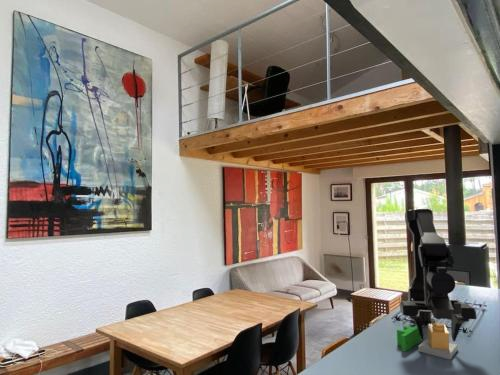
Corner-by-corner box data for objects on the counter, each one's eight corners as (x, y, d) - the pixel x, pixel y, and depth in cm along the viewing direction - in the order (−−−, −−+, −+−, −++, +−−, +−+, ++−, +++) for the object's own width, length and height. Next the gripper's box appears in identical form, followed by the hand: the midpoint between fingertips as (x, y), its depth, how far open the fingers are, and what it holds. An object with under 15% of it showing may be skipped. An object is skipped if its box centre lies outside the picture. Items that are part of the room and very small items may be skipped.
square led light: (427, 338, 101) (427, 320, 100) (444, 339, 100) (444, 321, 99) (431, 347, 96) (431, 328, 96) (449, 349, 95) (449, 329, 94)
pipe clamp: (409, 337, 108) (408, 323, 108) (421, 341, 105) (420, 326, 106) (392, 348, 101) (392, 332, 101) (405, 352, 98) (404, 335, 98)
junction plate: (428, 341, 104) (427, 325, 104) (458, 349, 99) (457, 331, 99) (418, 351, 98) (417, 333, 98) (450, 359, 92) (449, 340, 93)
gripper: (405, 291, 93) (408, 349, 93) (483, 293, 89) (486, 354, 88) (398, 281, 104) (400, 333, 103) (467, 283, 100) (470, 338, 99)
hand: (437, 339), depth 98 cm, fingers open, 8 cm apart
